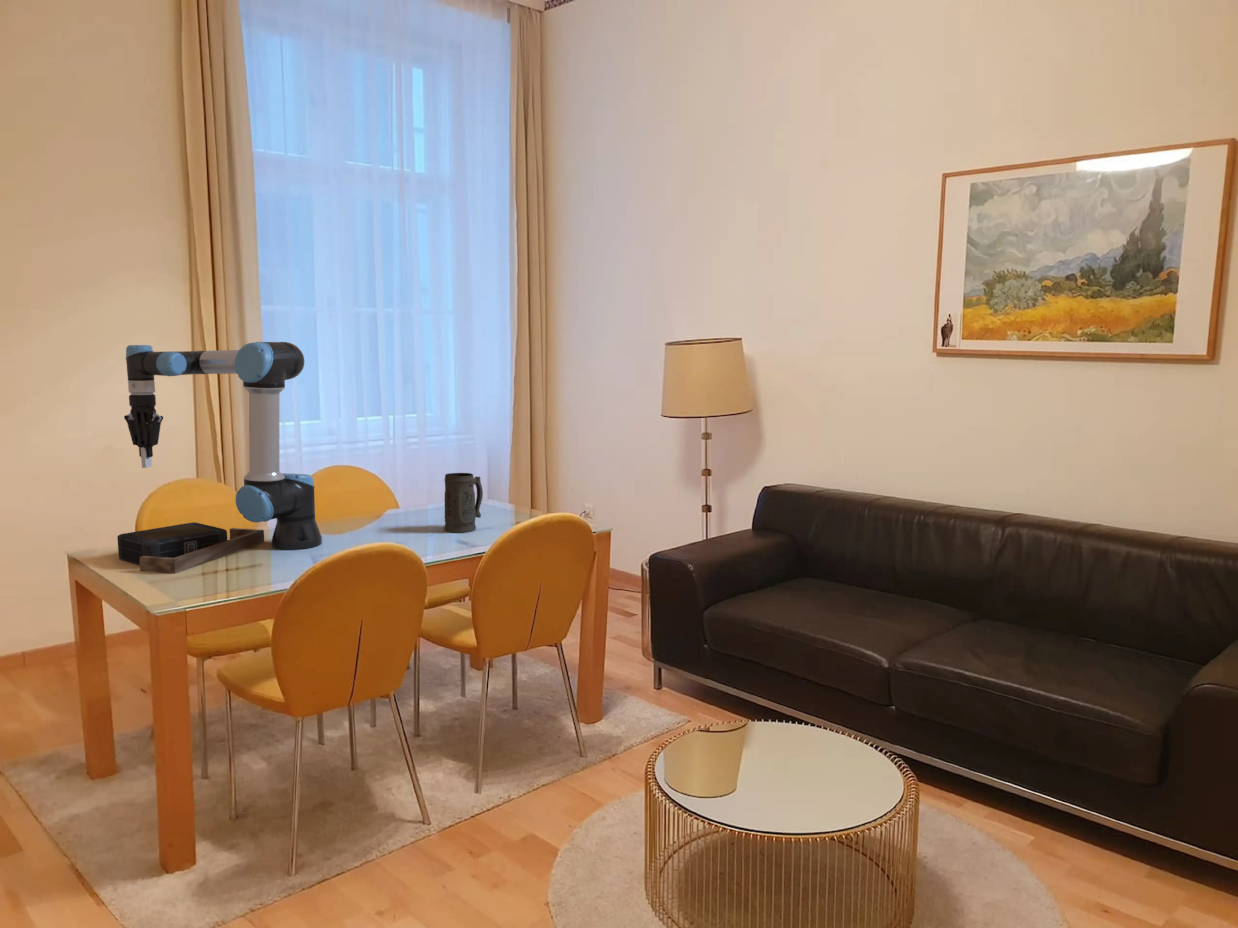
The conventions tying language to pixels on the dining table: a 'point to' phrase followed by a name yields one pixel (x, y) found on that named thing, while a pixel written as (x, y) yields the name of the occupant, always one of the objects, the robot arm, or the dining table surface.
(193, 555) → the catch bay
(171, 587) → the dining table surface
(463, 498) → the beer stein
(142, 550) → the cash box
